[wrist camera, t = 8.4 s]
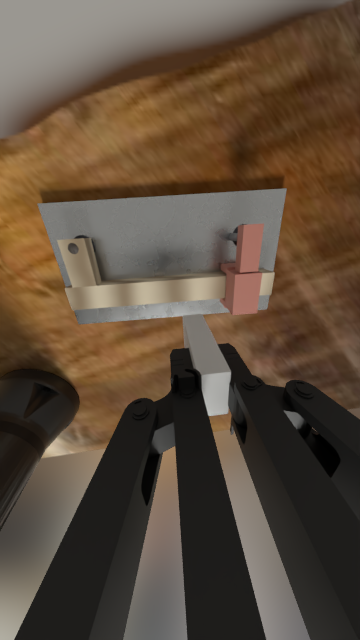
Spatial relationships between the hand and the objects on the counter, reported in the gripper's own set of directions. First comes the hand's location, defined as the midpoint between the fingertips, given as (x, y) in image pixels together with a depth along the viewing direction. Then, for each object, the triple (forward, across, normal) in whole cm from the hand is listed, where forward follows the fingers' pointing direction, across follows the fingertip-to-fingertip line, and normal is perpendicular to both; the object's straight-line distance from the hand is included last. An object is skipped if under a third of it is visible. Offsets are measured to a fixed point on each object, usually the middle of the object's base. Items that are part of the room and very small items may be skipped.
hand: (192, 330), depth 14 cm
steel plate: (+15, -1, +3) cm, 15 cm away
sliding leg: (+13, +7, +2) cm, 15 cm away
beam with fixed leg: (+14, -1, +3) cm, 14 cm away
